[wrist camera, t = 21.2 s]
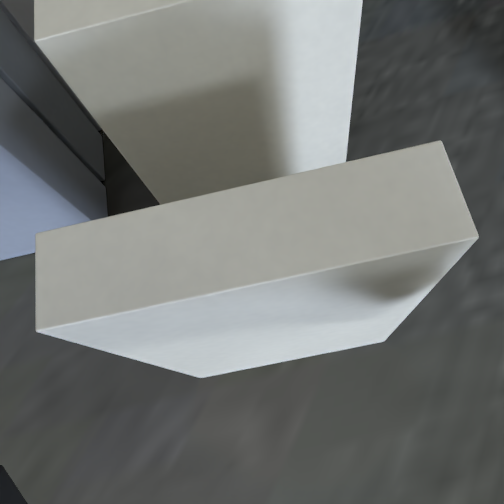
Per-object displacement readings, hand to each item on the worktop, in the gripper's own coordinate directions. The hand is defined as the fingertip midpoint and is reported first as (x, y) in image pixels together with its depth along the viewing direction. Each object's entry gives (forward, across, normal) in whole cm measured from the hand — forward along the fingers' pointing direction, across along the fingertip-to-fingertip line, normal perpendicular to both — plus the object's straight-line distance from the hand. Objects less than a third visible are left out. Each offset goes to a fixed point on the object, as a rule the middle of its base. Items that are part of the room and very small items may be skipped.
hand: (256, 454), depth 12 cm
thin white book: (+12, +1, -5) cm, 13 cm away
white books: (+19, +1, +3) cm, 20 cm away
